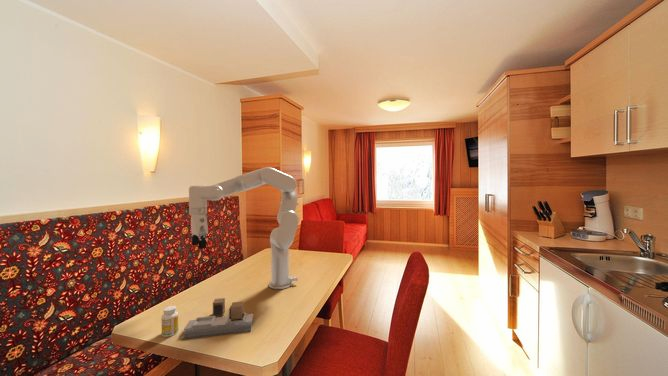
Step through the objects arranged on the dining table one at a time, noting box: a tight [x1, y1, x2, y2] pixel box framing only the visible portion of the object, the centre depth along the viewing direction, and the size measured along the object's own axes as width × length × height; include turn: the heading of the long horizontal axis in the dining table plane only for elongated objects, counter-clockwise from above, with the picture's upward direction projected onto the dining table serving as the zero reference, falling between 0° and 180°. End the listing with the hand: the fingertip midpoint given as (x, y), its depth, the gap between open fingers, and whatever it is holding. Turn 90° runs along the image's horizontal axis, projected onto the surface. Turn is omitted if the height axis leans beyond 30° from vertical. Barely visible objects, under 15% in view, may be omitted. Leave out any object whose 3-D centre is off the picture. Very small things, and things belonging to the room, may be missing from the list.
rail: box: [181, 301, 255, 341], centre depth 101 cm, size 24×10×9 cm, turn 102°
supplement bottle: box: [161, 305, 179, 338], centre depth 98 cm, size 5×5×10 cm
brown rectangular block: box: [212, 297, 226, 318], centre depth 112 cm, size 5×4×6 cm
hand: (199, 246), depth 125 cm, fingers open, 9 cm apart
